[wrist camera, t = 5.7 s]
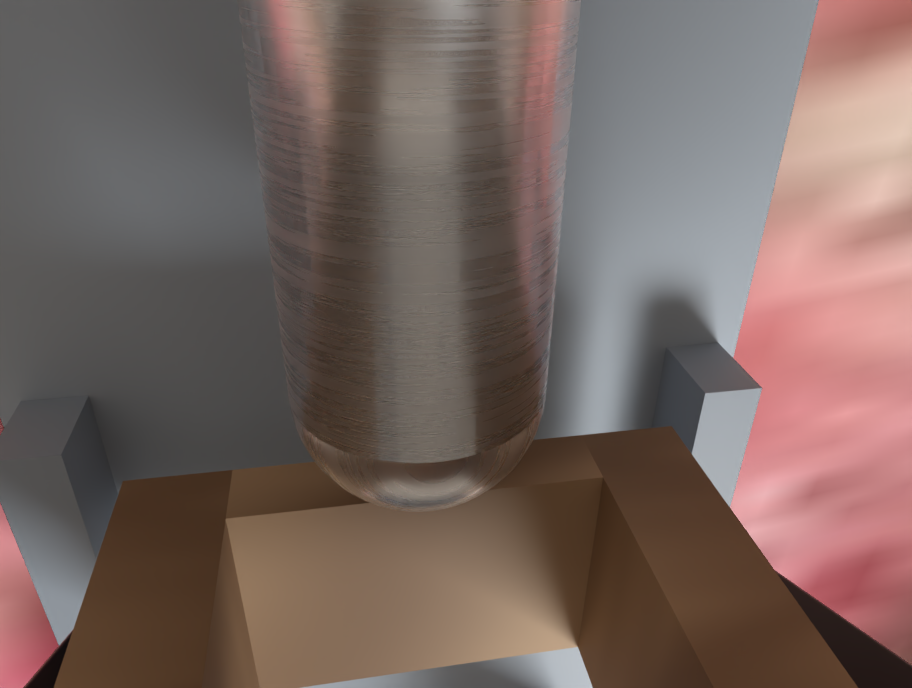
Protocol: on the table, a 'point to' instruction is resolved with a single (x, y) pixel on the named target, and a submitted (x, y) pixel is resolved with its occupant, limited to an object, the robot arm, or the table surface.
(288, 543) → the frame
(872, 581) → the table surface
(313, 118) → the shaft
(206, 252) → the rail
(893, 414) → the table surface
